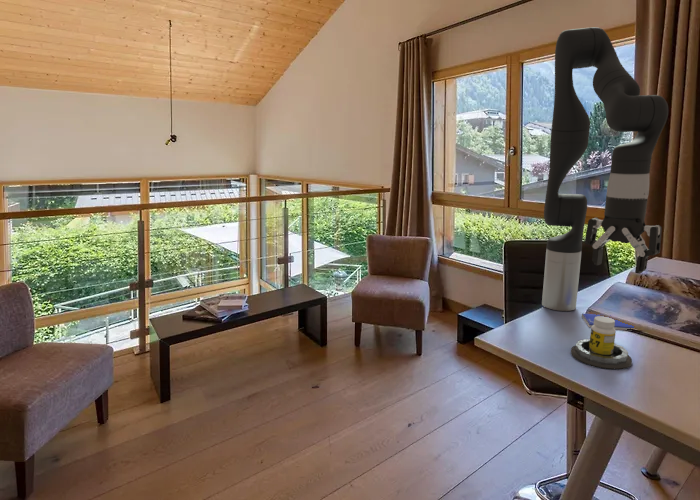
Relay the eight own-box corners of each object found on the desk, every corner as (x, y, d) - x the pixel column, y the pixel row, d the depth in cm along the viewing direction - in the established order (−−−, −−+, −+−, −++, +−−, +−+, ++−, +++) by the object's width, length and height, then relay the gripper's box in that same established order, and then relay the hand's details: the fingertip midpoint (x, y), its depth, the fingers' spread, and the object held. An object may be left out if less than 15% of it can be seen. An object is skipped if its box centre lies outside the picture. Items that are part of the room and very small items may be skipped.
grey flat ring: (563, 344, 107) (564, 336, 107) (617, 347, 106) (618, 338, 105) (581, 368, 96) (582, 359, 95) (642, 371, 94) (643, 362, 94)
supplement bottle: (584, 350, 103) (587, 315, 101) (603, 349, 103) (607, 314, 101) (596, 359, 98) (601, 323, 96) (617, 358, 99) (622, 322, 97)
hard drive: (589, 323, 118) (642, 327, 114) (581, 312, 125) (631, 316, 122) (588, 329, 118) (641, 333, 115) (581, 317, 126) (630, 321, 123)
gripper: (584, 193, 98) (576, 265, 102) (657, 199, 87) (646, 279, 91) (600, 190, 103) (593, 259, 106) (672, 196, 91) (661, 272, 95)
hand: (617, 268), depth 99 cm, fingers open, 8 cm apart
